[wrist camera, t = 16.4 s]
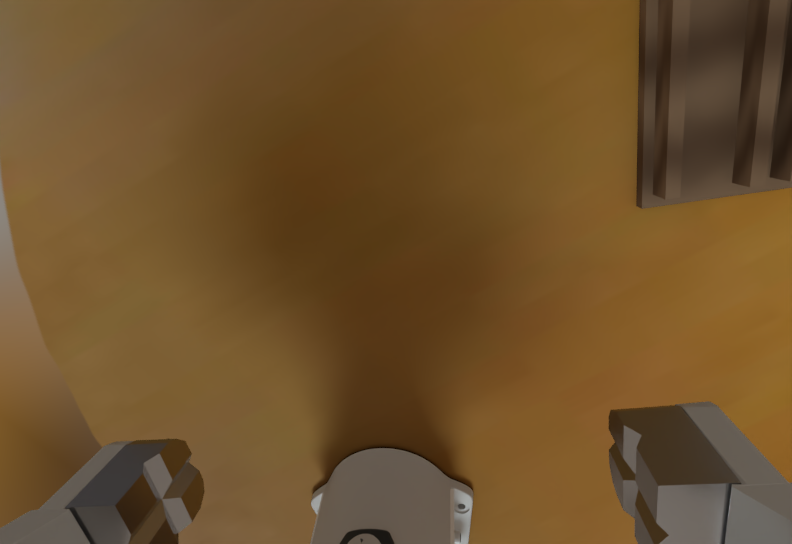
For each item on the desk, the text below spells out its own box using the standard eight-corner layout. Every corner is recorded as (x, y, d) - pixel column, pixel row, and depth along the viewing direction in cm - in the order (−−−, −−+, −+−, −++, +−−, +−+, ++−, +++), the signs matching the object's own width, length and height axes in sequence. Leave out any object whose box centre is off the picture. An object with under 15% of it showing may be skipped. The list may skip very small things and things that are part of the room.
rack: (868, 172, 31) (910, 178, 28) (636, 205, 34) (653, 214, 31) (938, -174, 24) (1002, -212, 21) (641, -98, 27) (663, -122, 24)
